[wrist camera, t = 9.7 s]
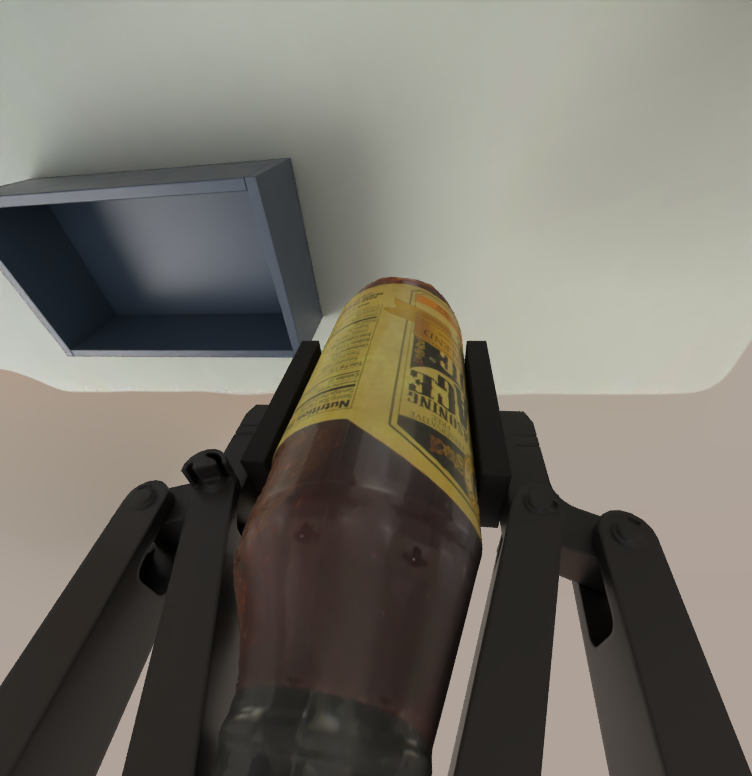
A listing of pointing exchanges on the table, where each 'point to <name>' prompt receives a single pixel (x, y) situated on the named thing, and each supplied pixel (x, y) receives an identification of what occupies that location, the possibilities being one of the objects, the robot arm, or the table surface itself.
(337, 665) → the sauce bottle
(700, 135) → the table surface
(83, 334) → the open storage box
